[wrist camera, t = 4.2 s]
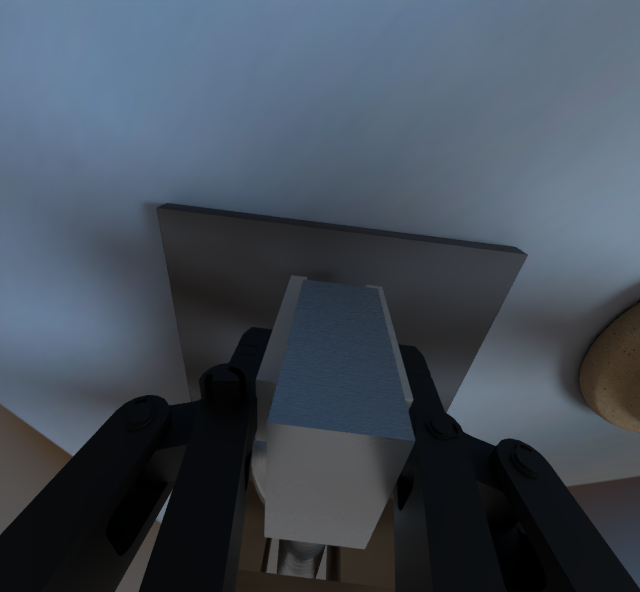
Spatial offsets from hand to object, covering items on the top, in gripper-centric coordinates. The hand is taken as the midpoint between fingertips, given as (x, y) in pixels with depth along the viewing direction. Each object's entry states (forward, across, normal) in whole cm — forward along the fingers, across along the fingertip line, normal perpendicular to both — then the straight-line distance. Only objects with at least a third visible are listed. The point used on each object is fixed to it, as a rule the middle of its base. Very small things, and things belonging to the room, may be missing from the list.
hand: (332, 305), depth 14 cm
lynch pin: (-2, 0, -7) cm, 7 cm away
